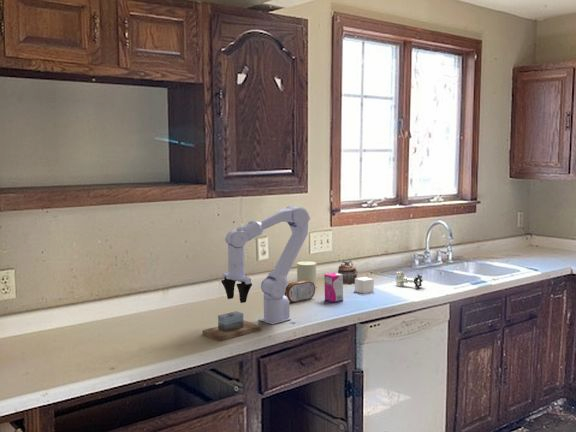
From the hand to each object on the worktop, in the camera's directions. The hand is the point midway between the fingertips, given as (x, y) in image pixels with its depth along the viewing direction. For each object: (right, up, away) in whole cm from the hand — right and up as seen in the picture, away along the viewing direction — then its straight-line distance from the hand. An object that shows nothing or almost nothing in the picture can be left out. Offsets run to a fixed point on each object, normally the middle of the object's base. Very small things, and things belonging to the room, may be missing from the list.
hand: (236, 300), depth 212 cm
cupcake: (+48, -2, +73) cm, 87 cm away
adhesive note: (+53, -4, +52) cm, 75 cm away
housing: (-1, -9, -7) cm, 11 cm away
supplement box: (+38, -6, +36) cm, 53 cm away
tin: (+24, -6, +37) cm, 44 cm away
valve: (+75, -3, +61) cm, 97 cm away
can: (+27, -3, +62) cm, 67 cm away
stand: (-1, -10, -7) cm, 12 cm away
